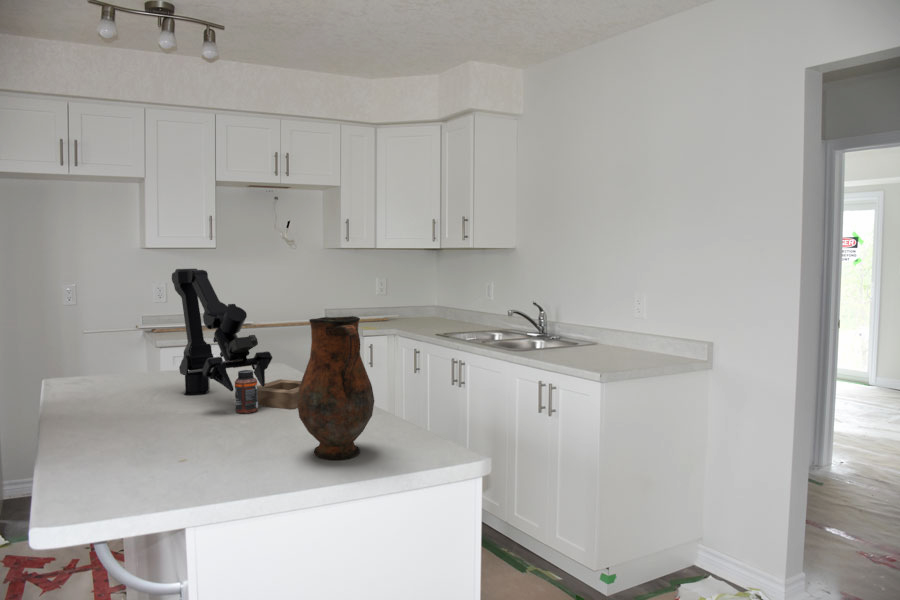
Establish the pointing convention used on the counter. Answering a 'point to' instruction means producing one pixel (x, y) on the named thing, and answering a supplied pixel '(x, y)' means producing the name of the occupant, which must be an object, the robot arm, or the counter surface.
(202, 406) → the counter surface
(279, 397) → the walnut well
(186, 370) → the robot arm
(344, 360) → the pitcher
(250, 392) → the supplement bottle
